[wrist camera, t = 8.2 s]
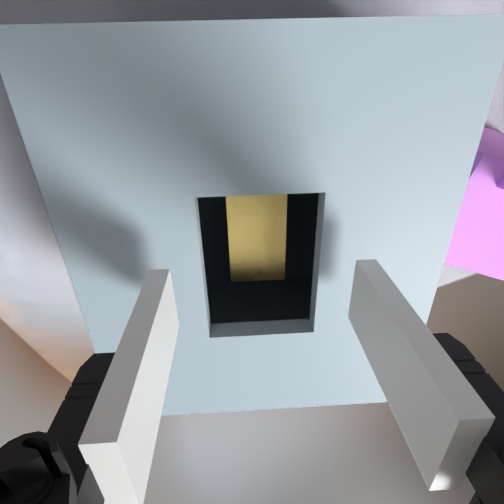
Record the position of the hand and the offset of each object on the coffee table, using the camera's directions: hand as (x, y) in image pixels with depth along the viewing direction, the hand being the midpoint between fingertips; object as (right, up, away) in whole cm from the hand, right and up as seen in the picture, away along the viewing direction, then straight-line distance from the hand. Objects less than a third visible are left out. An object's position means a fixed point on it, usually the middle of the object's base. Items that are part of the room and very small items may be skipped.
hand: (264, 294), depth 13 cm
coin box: (-1, +7, +12) cm, 14 cm away
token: (-1, +6, +12) cm, 13 cm away
